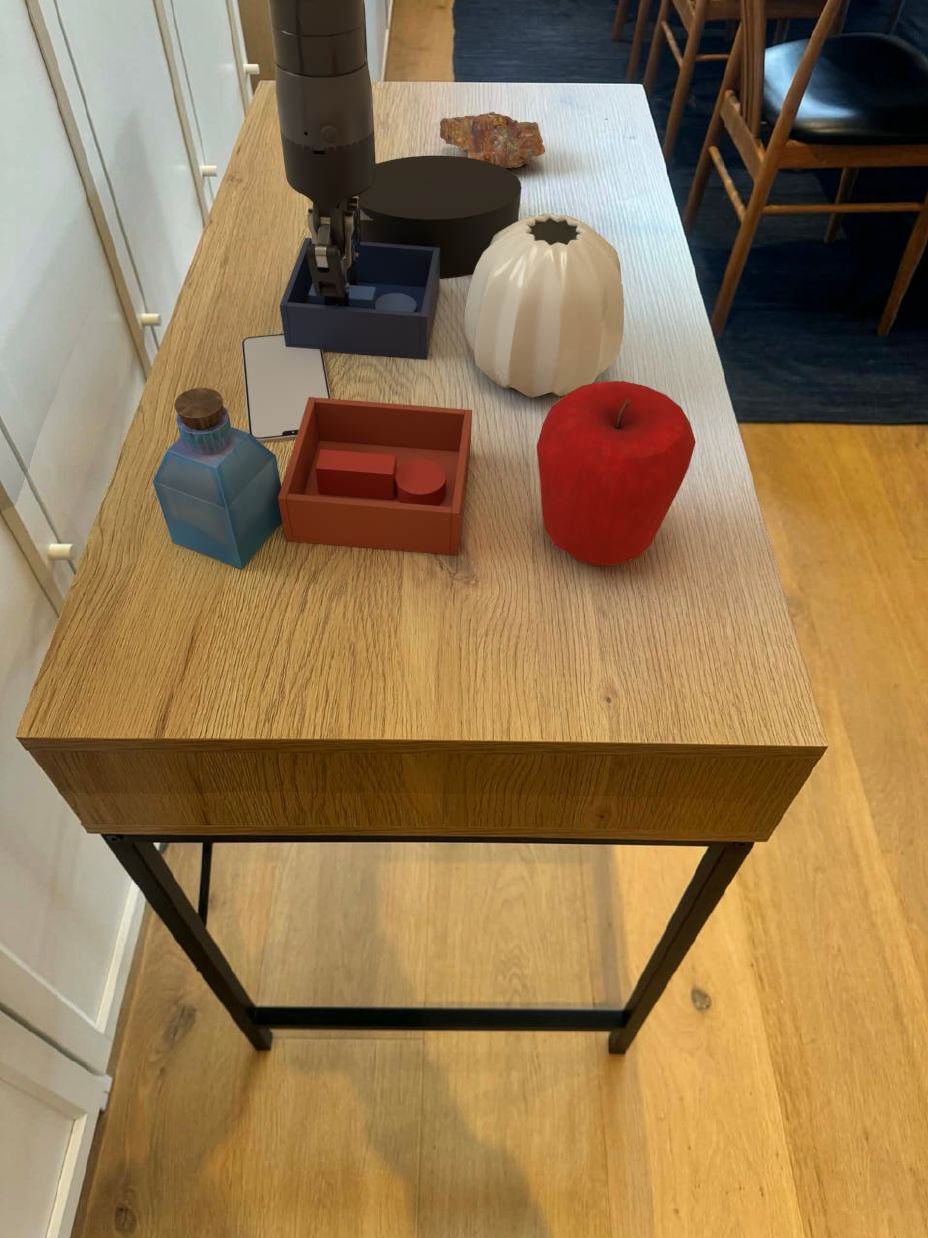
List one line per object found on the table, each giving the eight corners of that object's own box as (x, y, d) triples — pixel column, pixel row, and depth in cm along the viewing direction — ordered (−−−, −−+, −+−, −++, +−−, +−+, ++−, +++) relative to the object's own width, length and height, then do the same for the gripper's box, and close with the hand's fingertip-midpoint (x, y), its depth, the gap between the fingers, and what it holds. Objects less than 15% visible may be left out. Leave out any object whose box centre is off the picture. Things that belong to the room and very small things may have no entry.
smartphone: (319, 329, 84) (337, 431, 75) (320, 336, 85) (338, 437, 76) (240, 337, 83) (248, 440, 74) (241, 343, 84) (250, 447, 75)
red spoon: (316, 502, 70) (312, 475, 67) (325, 467, 72) (322, 441, 70) (443, 512, 69) (443, 486, 67) (448, 477, 72) (448, 451, 70)
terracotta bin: (285, 541, 68) (277, 498, 64) (314, 439, 75) (308, 396, 71) (458, 555, 67) (459, 513, 64) (470, 452, 75) (472, 409, 71)
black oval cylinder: (522, 286, 92) (534, 215, 87) (347, 279, 90) (347, 205, 84) (504, 219, 101) (513, 150, 96) (345, 211, 99) (345, 140, 93)
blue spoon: (309, 327, 84) (306, 300, 82) (317, 303, 86) (314, 276, 84) (414, 335, 84) (414, 308, 82) (419, 310, 86) (419, 284, 84)
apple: (652, 493, 72) (691, 350, 62) (673, 590, 66) (720, 449, 55) (522, 492, 72) (539, 348, 61) (531, 590, 66) (551, 448, 55)
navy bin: (285, 348, 83) (279, 305, 79) (309, 279, 90) (304, 237, 86) (426, 359, 82) (426, 316, 79) (439, 289, 90) (440, 247, 86)
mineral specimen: (446, 168, 102) (443, 101, 99) (440, 176, 109) (438, 113, 107) (549, 165, 103) (549, 98, 100) (537, 174, 110) (537, 111, 108)
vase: (457, 327, 86) (461, 188, 75) (599, 323, 87) (623, 186, 76) (471, 420, 77) (478, 278, 67) (628, 414, 78) (659, 274, 68)
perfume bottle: (286, 516, 69) (264, 389, 60) (241, 569, 66) (210, 444, 56) (219, 491, 71) (187, 363, 61) (172, 542, 67) (130, 415, 58)
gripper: (297, 81, 76) (317, 269, 89) (260, 159, 67) (288, 353, 80) (385, 87, 75) (392, 274, 89) (359, 166, 67) (371, 360, 80)
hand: (342, 311), depth 85 cm, fingers open, 3 cm apart
